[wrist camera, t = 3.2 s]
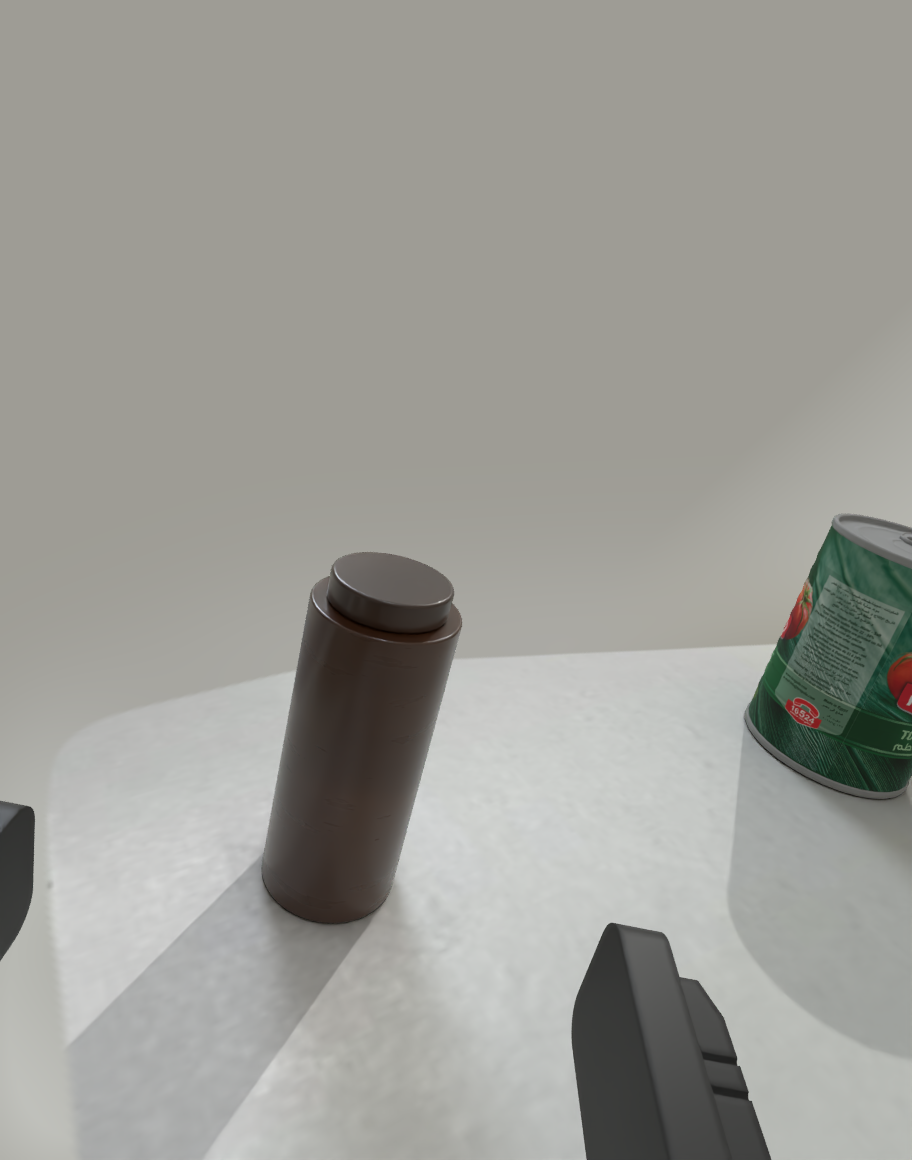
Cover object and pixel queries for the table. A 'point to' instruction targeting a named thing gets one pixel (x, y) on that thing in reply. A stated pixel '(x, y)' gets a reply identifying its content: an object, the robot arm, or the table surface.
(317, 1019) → the table surface
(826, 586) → the canned tomato
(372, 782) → the pepper mill
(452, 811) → the table surface
